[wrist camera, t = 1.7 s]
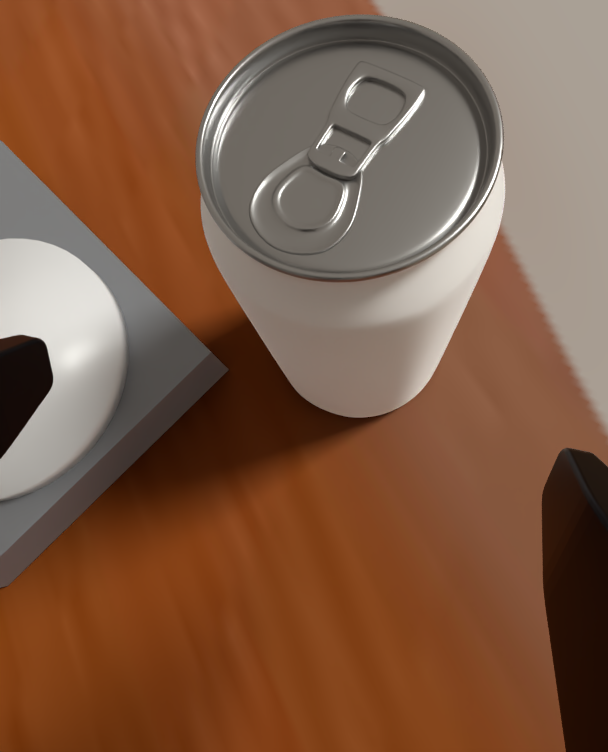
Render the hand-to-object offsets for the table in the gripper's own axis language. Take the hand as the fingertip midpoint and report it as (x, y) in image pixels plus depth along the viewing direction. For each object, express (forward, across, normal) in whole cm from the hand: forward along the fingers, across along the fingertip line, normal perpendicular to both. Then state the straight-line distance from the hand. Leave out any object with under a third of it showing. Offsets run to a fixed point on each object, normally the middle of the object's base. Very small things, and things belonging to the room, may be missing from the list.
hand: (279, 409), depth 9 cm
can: (+12, 0, +5) cm, 13 cm away
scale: (+9, +14, +7) cm, 18 cm away
